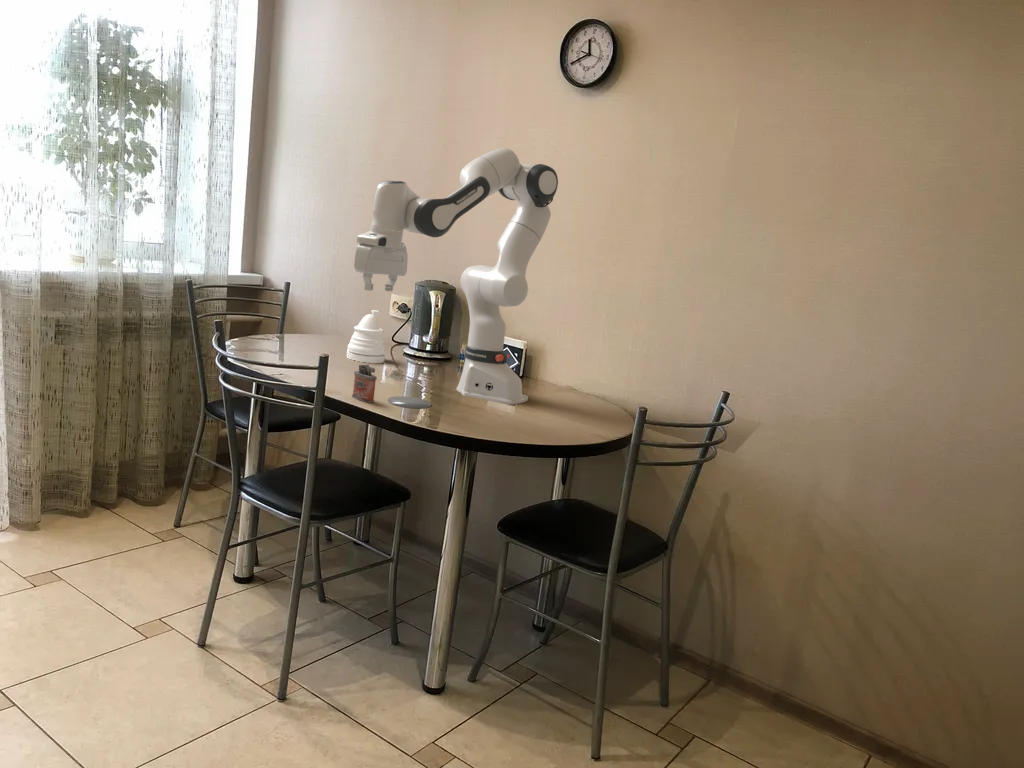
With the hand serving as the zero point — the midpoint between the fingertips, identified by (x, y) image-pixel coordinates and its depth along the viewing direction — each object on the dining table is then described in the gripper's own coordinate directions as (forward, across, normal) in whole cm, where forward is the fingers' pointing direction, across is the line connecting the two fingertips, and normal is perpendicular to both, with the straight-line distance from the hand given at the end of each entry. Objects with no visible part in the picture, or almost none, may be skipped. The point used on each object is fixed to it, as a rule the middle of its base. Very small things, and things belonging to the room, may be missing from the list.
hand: (378, 290), depth 219 cm
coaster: (+30, -3, +13) cm, 33 cm away
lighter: (+30, +5, +3) cm, 31 cm away
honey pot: (+29, -41, -31) cm, 59 cm away
